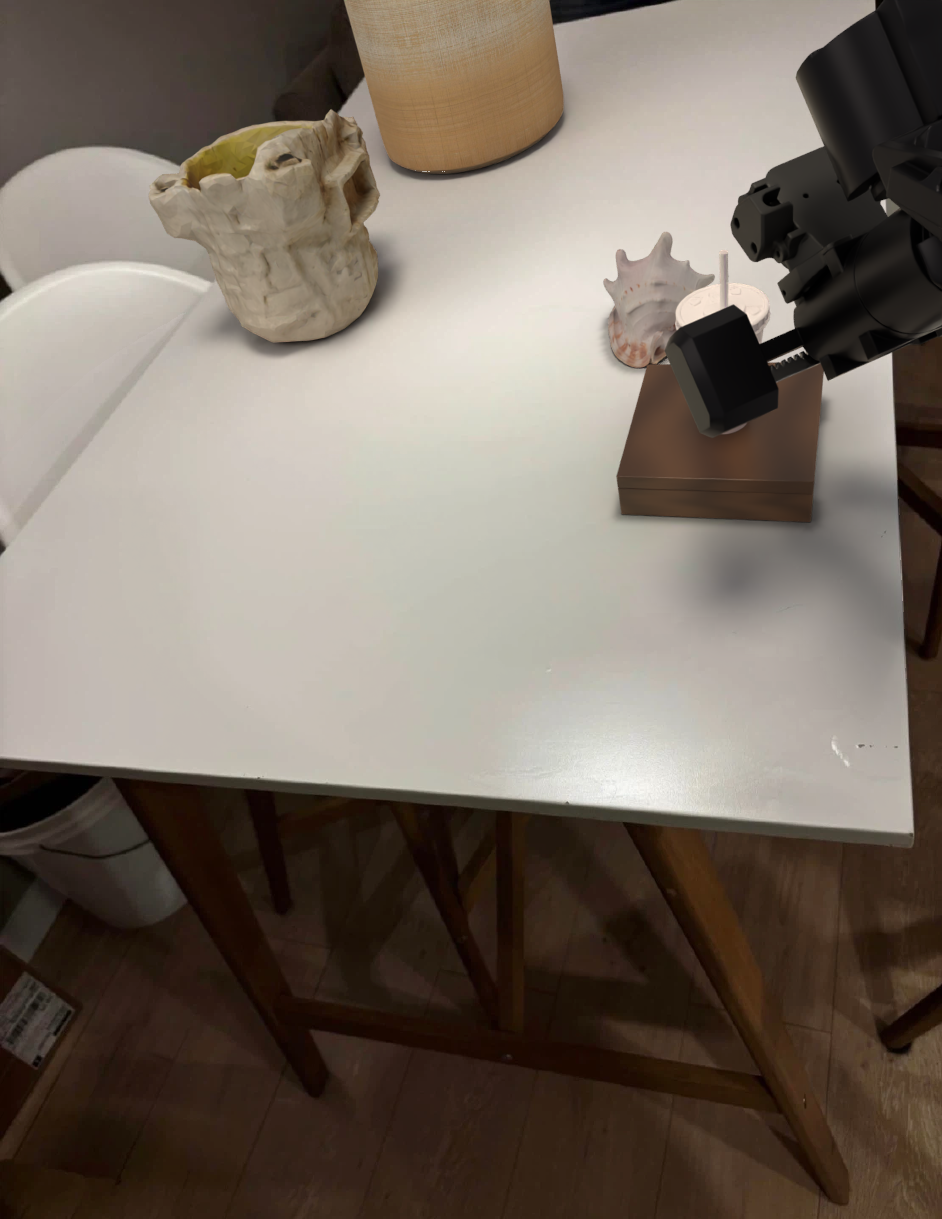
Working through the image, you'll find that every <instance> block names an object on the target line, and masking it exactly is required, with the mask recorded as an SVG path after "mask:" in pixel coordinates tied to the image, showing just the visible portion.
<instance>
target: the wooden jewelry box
mask: <svg viewBox="0 0 942 1219" xmlns="http://www.w3.org/2000/svg"><path fill="white" fill-rule="evenodd" d="M777 362H779V363H780V364H781V361H773V362H772V361H770V362H767V363H768V365H769V366H770V365H773V366H774V367H775V363H777ZM824 376H825V373H824V371H823V368H822V366H821V364H818V365H816V366H814V367H811V368H809V369H807V370H804V371H802V372H800V373H798V374H795V375H793V376H791V377H789V378H786V379H784V380H782V381H780V382H777V383H776V384H777V386H778V388H779V395H778V408H777V409H775V410H773V411H771V412H769V413H767V414H765V415H763V416H761V417H758V418H756V419H754V420H752V421H750V422H748V423H747V424H746V425H745V426H744V427H743V428H742V429H740V430H738V431H736V432H733V433H729V434H721V435H718V436H716V437H714V438H711V437H709V436H706V435H704V434H701V433H700V432H699V430H698V427H697V425H696V423H695V420H694V418H693V416H692V413H691V411H690V409H689V406H688V404H687V402H686V400H685V397H684V395H683V393H682V390H681V388H680V386H679V383H678V381H677V379H676V376H675V374H674V372H673V370H672V367H671V365H670V363H668V364H667V363H664V364H663V363H661V364H658V363H657V364H648V365H647V366H646V367H645V372H644V374H643V378H642V382H641V385H640V389H639V393H638V397H637V401H636V404H635V408H634V411H633V415H632V418H631V423H630V426H629V430H628V433H627V436H626V441H625V444H624V448H623V451H622V455H621V459H620V462H619V466H618V469H617V474H616V476H615V477H616V485H617V492H618V498H619V506H620V507H619V508H620V513H621V515H631V516H652V517H653V516H654V517H655V516H656V517H676V518H677V517H679V518H704V519H705V518H706V519H726V520H727V519H729V520H748V521H749V520H750V521H751V520H752V521H776V522H796V523H797V522H798V523H799V522H800V523H811V522H812V516H813V503H814V492H815V481H816V480H815V479H816V467H817V457H818V444H819V433H820V422H821V412H822V398H823V388H824V387H823V385H824Z"/></svg>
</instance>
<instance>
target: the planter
mask: <svg viewBox="0 0 942 1219" xmlns="http://www.w3.org/2000/svg"><path fill="white" fill-rule="evenodd" d="M343 3H344V6H345V9H346V12H347V17H348V20H349V23H350V26H351V31H352V35H353V38H354V41H355V46H356V48H357V52H358V56H359V59H360V64H361V67H362V70H363V74H364V78H365V81H366V84H367V89H368V92H369V97H370V100H371V104H372V107H373V112H374V115H375V119H376V122H377V126H378V129H379V133H380V137H381V141H382V144H383V147H384V149H385V151H386V154H387V156H388V158H389V159H390V160H391V161H392V162H393V163H395V164H396V165H397V166H399V167H402V168H403V169H407V170H410V171H413V172H416V173H421V174H428V175H429V174H430V175H447V174H456V173H457V174H458V173H464V172H470V171H474V170H478V169H482V168H486V167H488V166H493V165H495V164H498V163H501V162H504V161H507V160H509V159H511V158H513V157H515V156H517V155H519V154H522V153H523V152H525V151H527V150H529V149H530V148H532V147H533V146H534V145H536V144H537V143H539V142H540V141H541V140H543V139H544V138H545V137H546V136H547V135H548V134H549V133H550V131H551V130H552V129H553V128H554V127H555V126H556V124H557V123H558V122H559V121H560V119H561V117H562V116H563V112H564V107H565V101H564V100H565V98H564V97H565V96H564V89H563V88H564V87H563V81H562V74H561V69H560V62H559V56H558V48H557V43H556V37H555V36H556V35H555V30H554V23H553V17H552V10H551V4H550V0H343ZM415 170H416V171H415ZM422 171H427V172H422ZM428 171H430V172H428ZM442 171H443V172H442ZM444 171H445V172H444Z"/></svg>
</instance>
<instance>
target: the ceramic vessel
mask: <svg viewBox="0 0 942 1219" xmlns="http://www.w3.org/2000/svg"><path fill="white" fill-rule="evenodd" d="M363 136H364V131H363V129H362V128H361V127H359V126H358V123H357V120H356V119H355V117H354V116H349V117H348V116H340V115H339V113H337V112H336V111H334V110H333V109H330V110H329V111H328V112H326V114H325V117H324V119H323V120H279V121H270V122H264V123H260V124H251V125H248V126H246V127H242V128H240V129H237V130H235V131H233V132H230V133H228V134H224V135H221V136H219V137H218V138H217V139H216V140H215V141H213V142H212V143H211V144H209V145H206V146H203V147H202V148H200V149H199V150H198V151H197V152H195V154H193V155H192V156H190V157H188V158H187V159H185V160H184V161H183V162H182V163H181V164H180V165H179V171H178V172H176V173H163V174H160V175H159V176H158V177H156V179H155V180H154V181H152V182H151V184H149V186H148V187H149V192H148V201H149V204H150V205H151V207H152V209H153V211H154V212H155V213H156V215H157V217H158V218H159V221H160V223H161V225H162V226H163V228H164V231H165V232H166V234H167V235H168V236H170V237H172V238H174V239H182V240H188V241H193V242H196V243H197V244H198V245H200V246H201V247H203V249H205V250H206V252H207V254H208V258H209V261H210V265H211V268H212V270H213V273H214V277H215V282H216V283H217V285H218V288H219V290H221V293H222V296H223V298H224V301H225V304H226V306H227V308H228V310H229V311H230V312H231V313H232V314H233V315H234V317H235V318H236V319H237V320H238V322H239V324H240V326H241V327H242V328H244V329H245V330H247V331H249V332H250V333H252V334H254V335H256V336H257V337H260V338H262V339H264V340H267V341H269V342H271V343H272V344H273V343H274V344H275V343H286V342H302V341H303V342H305V341H313V340H318V339H325V338H328V337H330V336H333V335H335V334H337V333H339V332H341V331H343V330H345V329H346V328H347V327H349V326H350V325H351V324H353V323H354V322H355V321H356V320H357V319H358V318H360V317H361V316H362V314H363V312H364V311H365V310H366V308H367V307H368V304H369V303H370V301H371V298H372V297H373V294H374V291H375V289H376V285H377V283H378V280H379V279H378V278H379V260H378V252H377V250H376V249H375V246H374V245H373V243H372V242H371V240H370V233H369V230H368V228H367V227H366V225H365V222H366V221H367V220H368V219H369V218H370V217H371V216H372V215H373V214H374V213H375V211H376V210H377V208H378V205H379V202H380V200H379V199H380V197H381V193H380V191H379V189H378V186H377V181H376V178H375V175H374V173H373V169H372V165H371V160H370V154H369V152H368V148H367V143H366V140H365V139H364V137H363Z"/></svg>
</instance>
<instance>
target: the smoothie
mask: <svg viewBox="0 0 942 1219" xmlns="http://www.w3.org/2000/svg"><path fill="white" fill-rule="evenodd" d="M718 259H719V260H718V261H719V262H718V265H719V283H716V284H709V285H708V286H706V287H703V288H701V289H698V290H696V291H694V292H692V293H691V294H689V295H687V296H686V297H685V298H684V299H683V300H682V301H681V302H680V303H679V305H678V306H677V309H676V322H675V326H676V330H678V329H679V328H680V327H682V326H685V325H687V324H689V323H691V322H694V321H696V320H698V319H701V318H703V317H705V316H708V315H710V314H712V313H715V312H717V311H719V310H722V309H724V308H726V307H729V306H731V305H733V304H734V305H735V306H737V307H738V308H739V309H741V310H742V311H743V312H745V313H746V314H747V316H748V318H749V321H750V323H751V325H752V328H753V330H754V332H755V335H756V337H757V339H758V342H759V344H761V343H763V336H764V330H765V328H766V326H767V325H768V324H769V322H770V320H771V311H770V309H771V305H770V304H771V303H770V299H769V297H768V295H767V294H766V293H765V292H764V291H762V290H761V289H760V288H758V287H755V286H753V285H751V284H746V283H739V282H729V250H727V249H721V250H720V251H719V252H718ZM746 424H747V423H745V424H743V425H741V426H739V427H736V428H734V429H732V430H730V431H727V432H725V433H723V434H729V433H733V432H736V431H738V430H740V429H742V428H743V427H744V426H745V425H746Z"/></svg>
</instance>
